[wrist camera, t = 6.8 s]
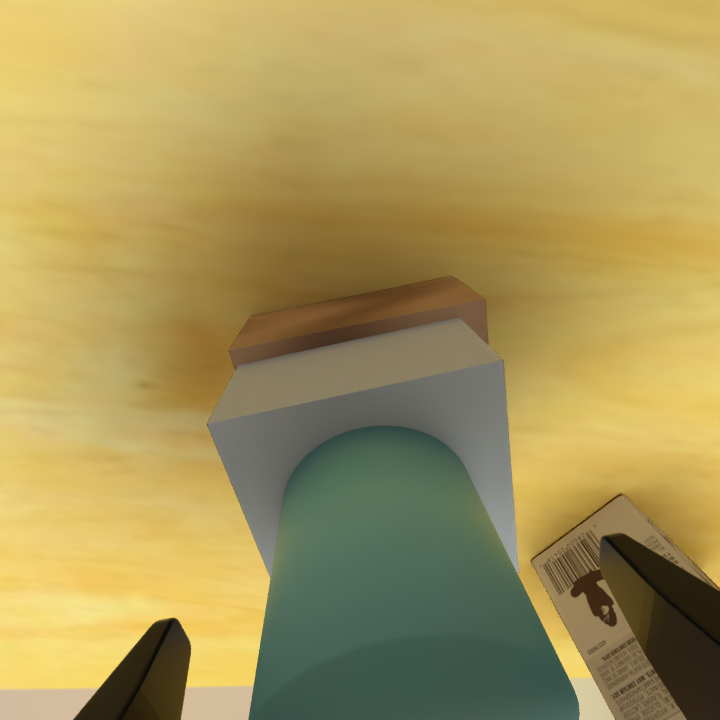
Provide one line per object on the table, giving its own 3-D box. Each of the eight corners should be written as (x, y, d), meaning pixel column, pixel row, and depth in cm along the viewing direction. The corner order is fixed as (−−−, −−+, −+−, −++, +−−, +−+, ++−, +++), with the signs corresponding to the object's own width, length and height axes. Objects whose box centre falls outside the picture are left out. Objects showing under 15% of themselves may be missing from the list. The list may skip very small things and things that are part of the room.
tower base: (449, 274, 16) (485, 298, 12) (466, 441, 19) (499, 500, 15) (251, 314, 16) (228, 350, 12) (300, 474, 19) (293, 540, 16)
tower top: (459, 317, 13) (503, 360, 9) (479, 492, 15) (518, 573, 12) (238, 365, 13) (206, 424, 9) (297, 530, 15) (288, 620, 12)
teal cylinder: (462, 406, 10) (582, 602, 5) (479, 556, 12) (577, 795, 7) (258, 449, 10) (192, 679, 5) (309, 590, 12) (294, 850, 7)
